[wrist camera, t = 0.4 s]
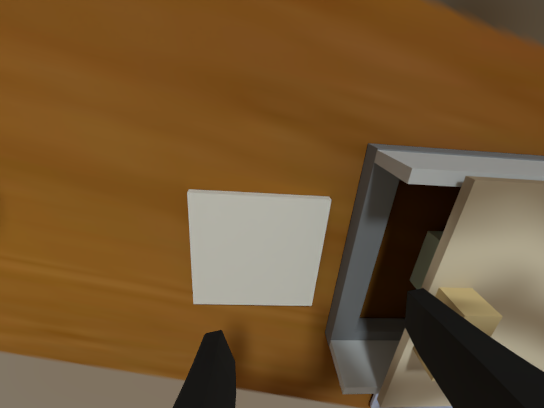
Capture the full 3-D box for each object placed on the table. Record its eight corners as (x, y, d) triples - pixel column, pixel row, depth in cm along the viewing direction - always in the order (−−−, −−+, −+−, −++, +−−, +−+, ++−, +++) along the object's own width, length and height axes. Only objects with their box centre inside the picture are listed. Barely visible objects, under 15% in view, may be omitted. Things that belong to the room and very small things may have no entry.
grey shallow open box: (561, 334, 27) (630, 390, 22) (325, 332, 25) (342, 394, 20) (687, 166, 20) (833, 193, 15) (368, 143, 18) (413, 166, 13)
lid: (533, 396, 21) (569, 436, 18) (376, 398, 20) (393, 441, 17) (697, 190, 14) (790, 212, 11) (465, 175, 13) (514, 196, 10)
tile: (310, 300, 23) (311, 305, 23) (195, 298, 22) (193, 304, 22) (329, 196, 19) (331, 199, 19) (189, 189, 18) (187, 192, 18)
